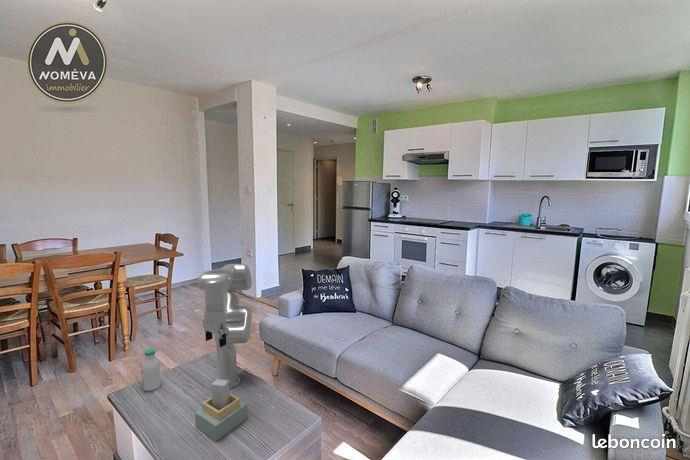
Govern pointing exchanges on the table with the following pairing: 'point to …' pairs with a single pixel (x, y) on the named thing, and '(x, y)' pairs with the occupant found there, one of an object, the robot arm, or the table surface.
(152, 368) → the milk bottle
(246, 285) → the robot arm
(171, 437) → the table surface
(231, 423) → the green yellow rimmed box
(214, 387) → the skincare box
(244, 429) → the table surface
